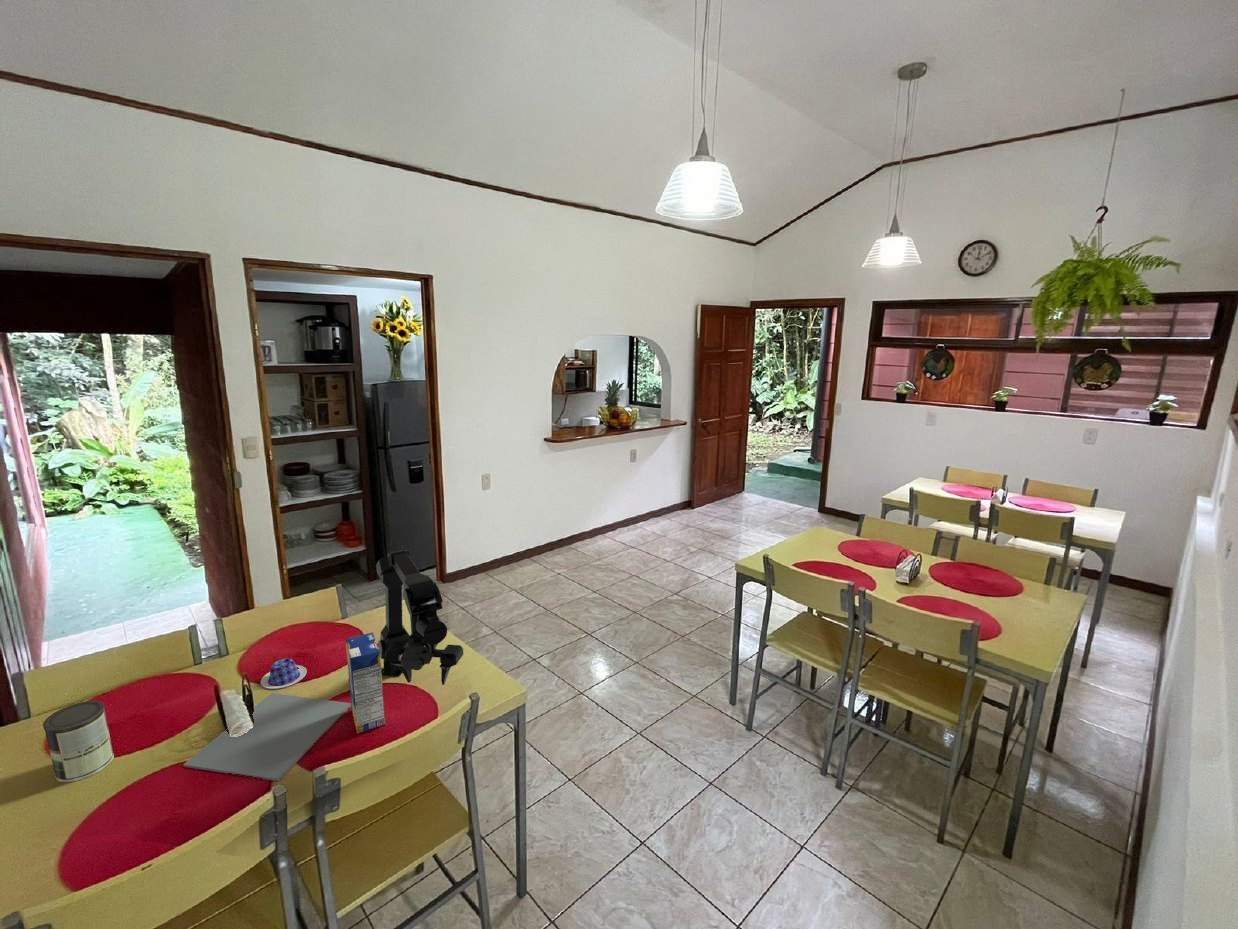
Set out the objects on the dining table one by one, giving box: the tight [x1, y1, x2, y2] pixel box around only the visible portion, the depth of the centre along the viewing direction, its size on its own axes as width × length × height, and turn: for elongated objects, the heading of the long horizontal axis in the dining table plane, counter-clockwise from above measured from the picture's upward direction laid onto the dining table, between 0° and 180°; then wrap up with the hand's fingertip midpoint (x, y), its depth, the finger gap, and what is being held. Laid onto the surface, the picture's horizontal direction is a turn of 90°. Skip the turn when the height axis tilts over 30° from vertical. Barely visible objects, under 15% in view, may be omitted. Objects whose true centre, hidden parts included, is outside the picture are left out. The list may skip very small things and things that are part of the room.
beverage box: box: [345, 632, 386, 735], centre depth 149 cm, size 7×11×22 cm, turn 32°
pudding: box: [260, 658, 308, 689], centre depth 168 cm, size 12×12×5 cm
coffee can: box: [42, 700, 115, 783], centre depth 131 cm, size 10×10×14 cm
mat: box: [183, 692, 352, 782], centre depth 145 cm, size 28×25×1 cm
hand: (426, 683), depth 146 cm, fingers open, 9 cm apart
